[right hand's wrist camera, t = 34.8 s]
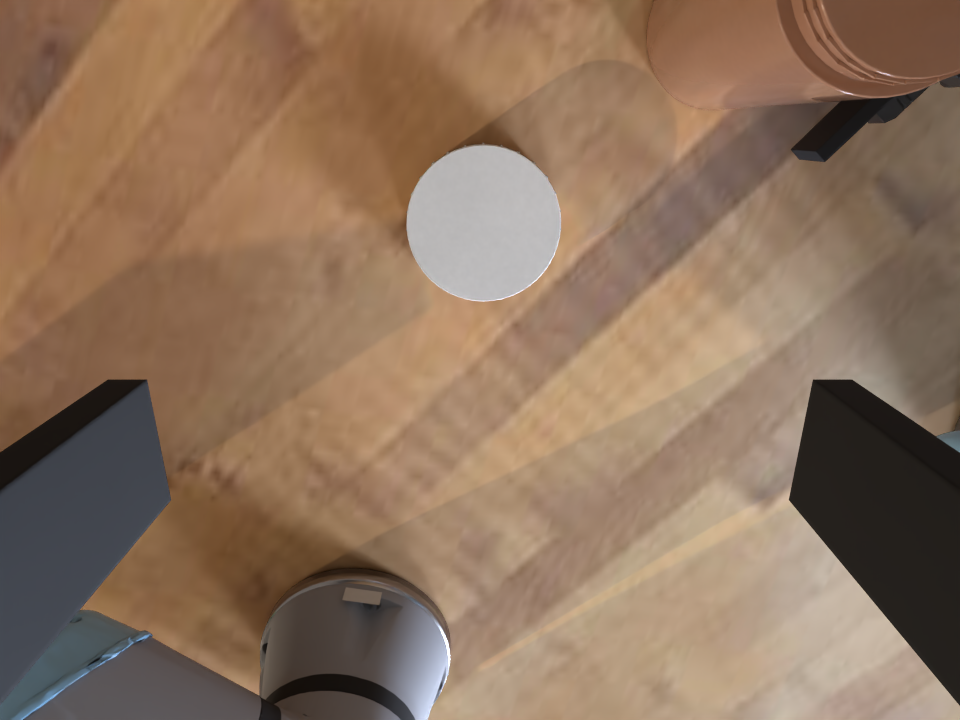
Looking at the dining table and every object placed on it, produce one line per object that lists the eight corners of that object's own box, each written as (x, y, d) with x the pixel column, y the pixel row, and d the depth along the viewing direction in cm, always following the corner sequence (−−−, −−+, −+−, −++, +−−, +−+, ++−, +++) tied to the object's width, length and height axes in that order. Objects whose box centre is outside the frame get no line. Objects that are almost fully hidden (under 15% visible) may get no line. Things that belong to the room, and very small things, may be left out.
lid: (563, 285, 42) (567, 292, 40) (421, 302, 42) (418, 310, 40) (551, 133, 38) (555, 133, 36) (397, 153, 39) (392, 155, 37)
